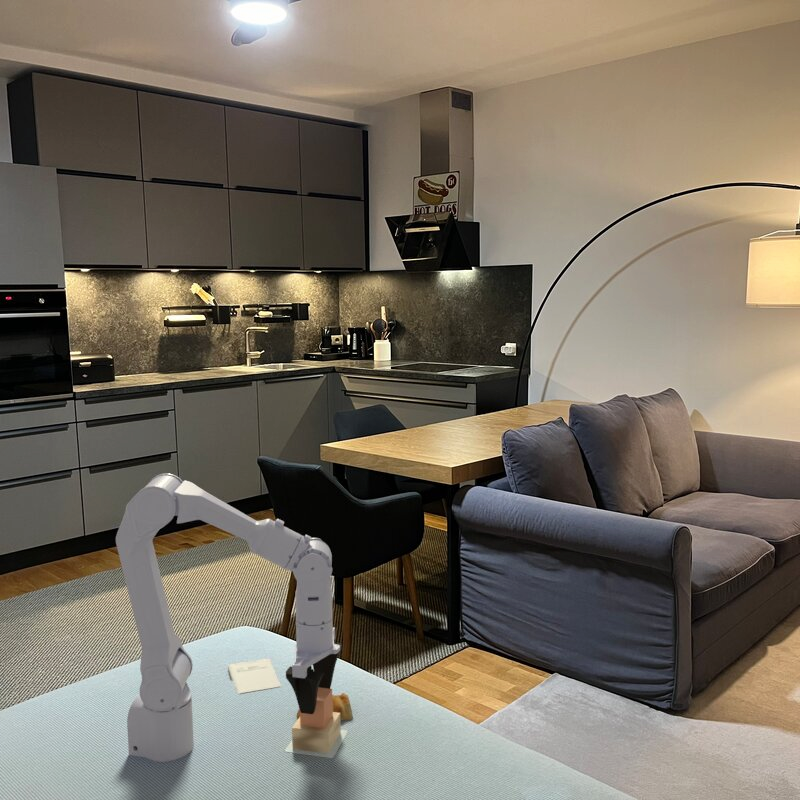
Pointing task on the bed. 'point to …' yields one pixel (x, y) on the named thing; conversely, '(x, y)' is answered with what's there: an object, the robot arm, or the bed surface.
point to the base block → (316, 735)
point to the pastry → (340, 707)
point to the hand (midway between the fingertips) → (315, 700)
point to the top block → (319, 710)
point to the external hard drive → (253, 676)
